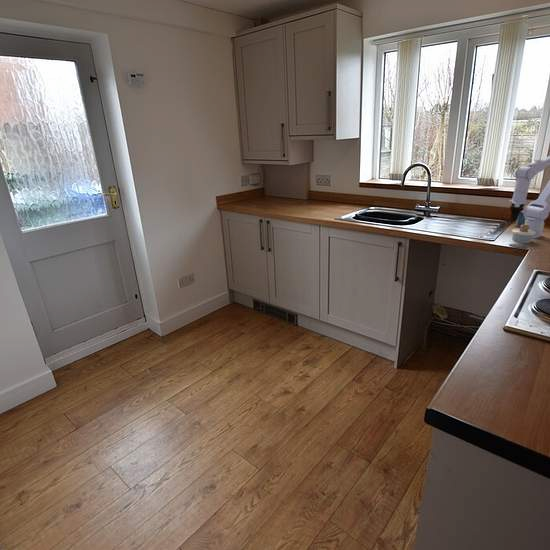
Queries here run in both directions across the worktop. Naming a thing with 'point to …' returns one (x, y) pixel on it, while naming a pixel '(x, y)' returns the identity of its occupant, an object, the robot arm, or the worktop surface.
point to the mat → (518, 246)
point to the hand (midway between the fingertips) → (514, 219)
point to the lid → (523, 230)
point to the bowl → (522, 238)
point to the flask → (520, 219)
